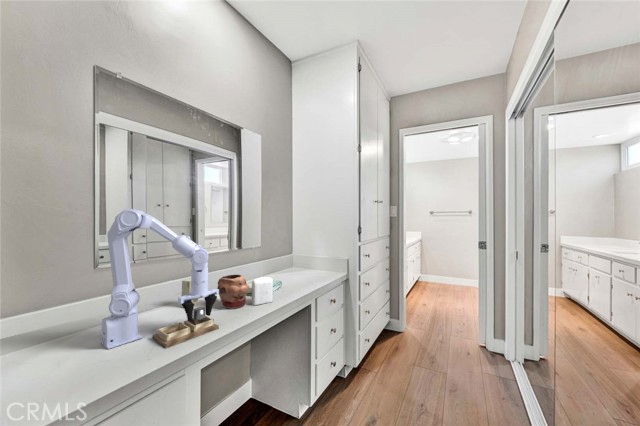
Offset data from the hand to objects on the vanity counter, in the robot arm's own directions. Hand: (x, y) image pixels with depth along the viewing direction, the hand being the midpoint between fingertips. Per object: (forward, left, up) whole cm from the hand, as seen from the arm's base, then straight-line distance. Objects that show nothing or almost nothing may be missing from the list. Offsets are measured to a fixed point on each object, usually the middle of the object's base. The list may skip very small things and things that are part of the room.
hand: (199, 318), depth 96 cm
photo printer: (+34, +4, -4) cm, 34 cm away
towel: (+46, +21, -5) cm, 51 cm away
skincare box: (+11, +28, -4) cm, 30 cm away
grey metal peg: (0, 0, -3) cm, 3 cm away
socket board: (-4, 0, -4) cm, 6 cm away
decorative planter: (+23, +13, -4) cm, 26 cm away
